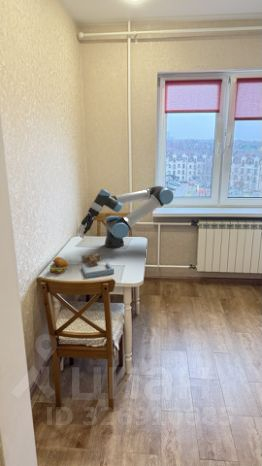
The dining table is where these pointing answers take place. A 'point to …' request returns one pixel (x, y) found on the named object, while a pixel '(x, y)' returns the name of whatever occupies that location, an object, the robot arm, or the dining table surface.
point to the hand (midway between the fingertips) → (79, 235)
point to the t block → (91, 259)
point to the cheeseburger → (58, 265)
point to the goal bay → (100, 272)
